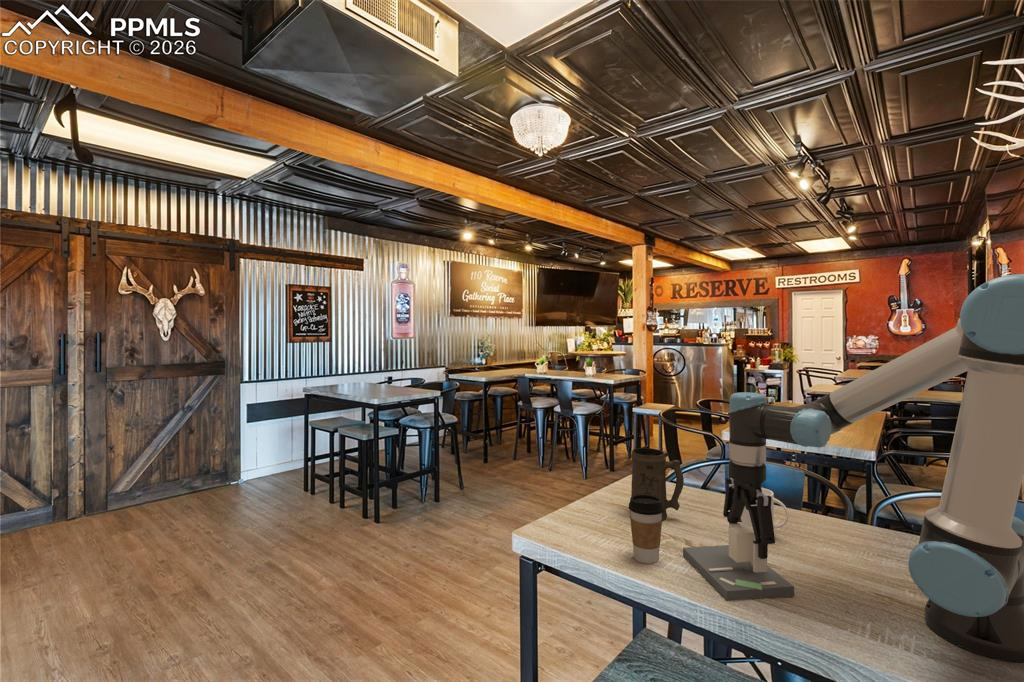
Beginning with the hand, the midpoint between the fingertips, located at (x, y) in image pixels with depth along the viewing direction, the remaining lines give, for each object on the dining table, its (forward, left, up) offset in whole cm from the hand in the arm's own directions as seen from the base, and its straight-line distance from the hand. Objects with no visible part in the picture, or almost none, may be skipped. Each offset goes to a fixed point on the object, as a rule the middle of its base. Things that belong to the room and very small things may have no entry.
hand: (747, 560), depth 109 cm
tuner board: (+2, +2, -4) cm, 5 cm away
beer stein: (+37, +6, -4) cm, 38 cm away
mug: (+20, -17, -4) cm, 27 cm away
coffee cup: (+12, +19, -4) cm, 23 cm away
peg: (0, +3, -2) cm, 3 cm away
